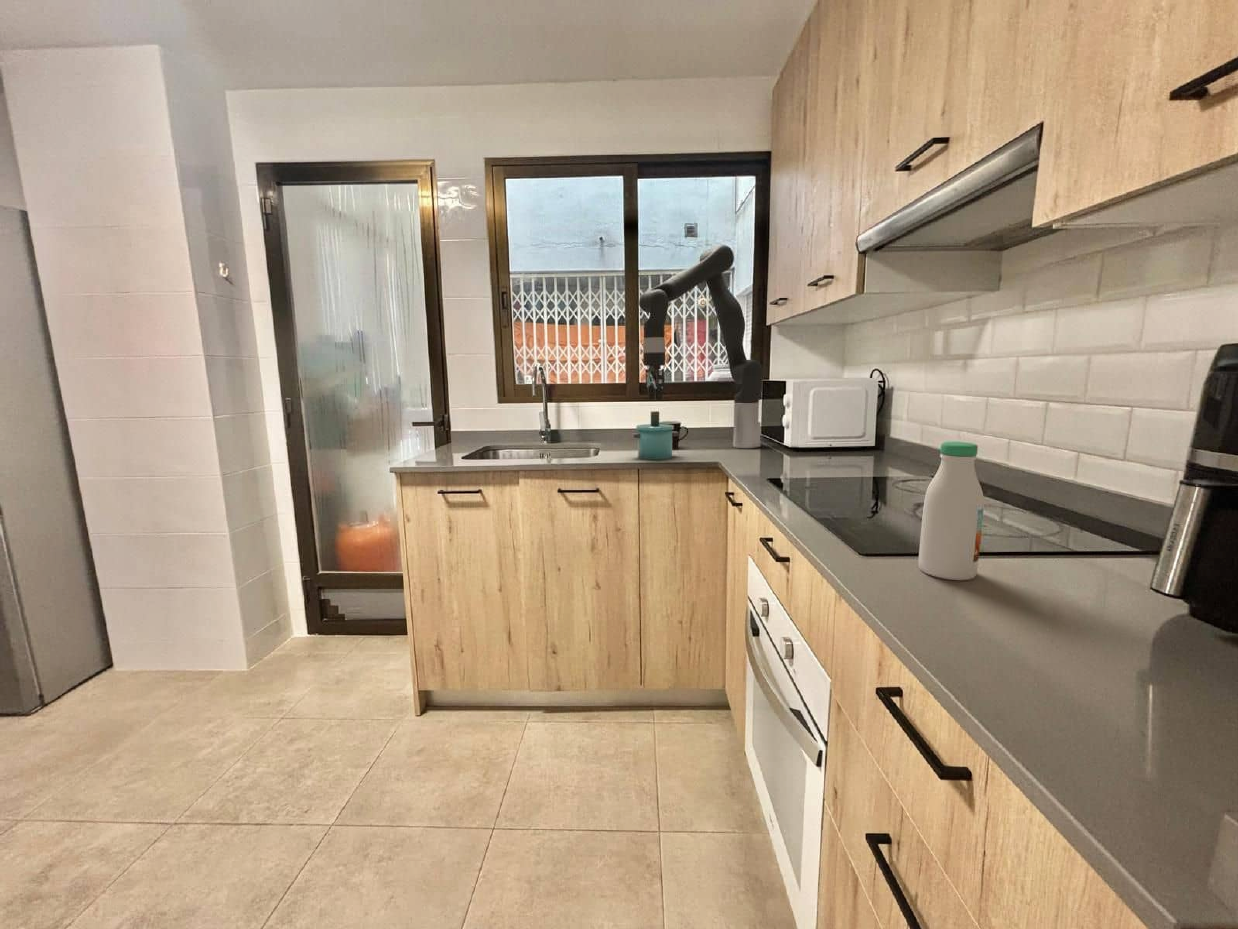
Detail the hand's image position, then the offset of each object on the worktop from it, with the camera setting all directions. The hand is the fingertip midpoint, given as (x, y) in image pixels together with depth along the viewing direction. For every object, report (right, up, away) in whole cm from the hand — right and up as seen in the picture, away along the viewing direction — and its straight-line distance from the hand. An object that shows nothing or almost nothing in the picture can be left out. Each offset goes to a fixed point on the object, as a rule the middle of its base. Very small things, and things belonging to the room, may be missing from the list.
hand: (654, 399), depth 185 cm
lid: (0, -10, +2) cm, 10 cm away
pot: (0, -20, +4) cm, 20 cm away
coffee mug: (+8, -16, +23) cm, 29 cm away
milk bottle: (+38, -39, -103) cm, 116 cm away
